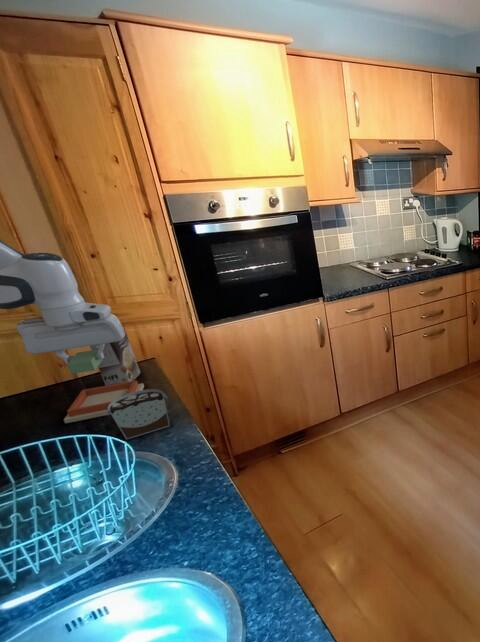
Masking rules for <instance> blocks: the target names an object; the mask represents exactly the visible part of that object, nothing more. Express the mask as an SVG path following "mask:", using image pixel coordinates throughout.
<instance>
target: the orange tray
mask: <svg viewBox="0 0 480 642" xmlns="http://www.w3.org/2000/svg"><path fill="white" fill-rule="evenodd" d="M144 388H145V385H144V383H138V380H136V379H135V380H134V381H130V382H124V383H118V384H113V385H107V386H106V385H102V386H96V387H91V388H85V389H82V390H80V392H79V394H78V395H77V397H76V398H75V399H74V400H73V402H72V403H71V405H70V406H69V408H68V409H67V410H66V413H67V414H66V416H65V417H64V418H63V423H64V424H70V423H75V422H80V421H85V420H88V419H89V420H90V419H94V418H99V417H105V416H108V413H107V409H108V406H109V404H110V403H111V402H113V401H114V400H116V399H117V398H119V397H121V396H124V395H126V394H129V393H132V392H136V391H141V390H144ZM109 416H111V414H110V413H109Z"/></svg>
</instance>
